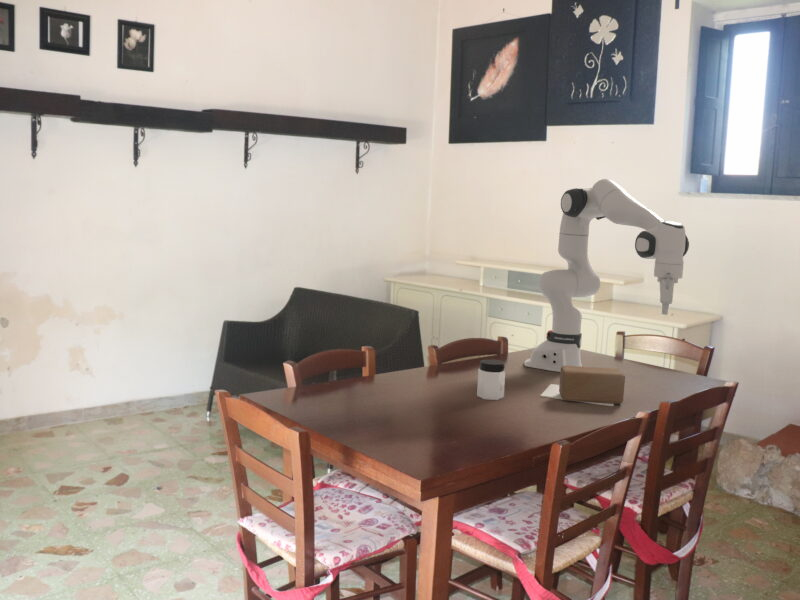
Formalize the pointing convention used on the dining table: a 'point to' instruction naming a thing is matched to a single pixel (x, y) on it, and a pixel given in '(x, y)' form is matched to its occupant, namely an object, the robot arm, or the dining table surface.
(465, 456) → the dining table surface
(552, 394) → the mat
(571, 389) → the block
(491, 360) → the jar
